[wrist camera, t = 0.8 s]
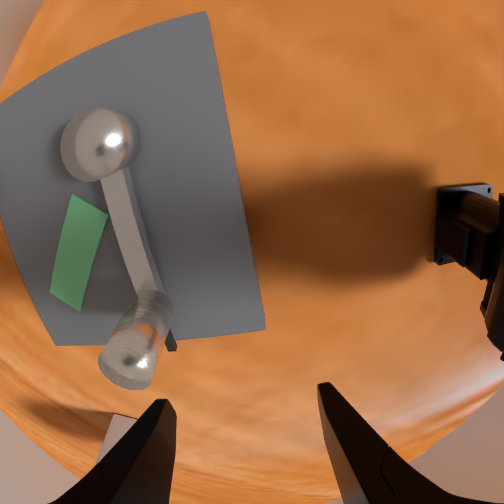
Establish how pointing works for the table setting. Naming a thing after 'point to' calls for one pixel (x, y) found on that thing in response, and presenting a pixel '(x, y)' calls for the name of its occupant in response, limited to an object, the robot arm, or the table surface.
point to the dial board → (145, 185)
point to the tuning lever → (123, 242)
